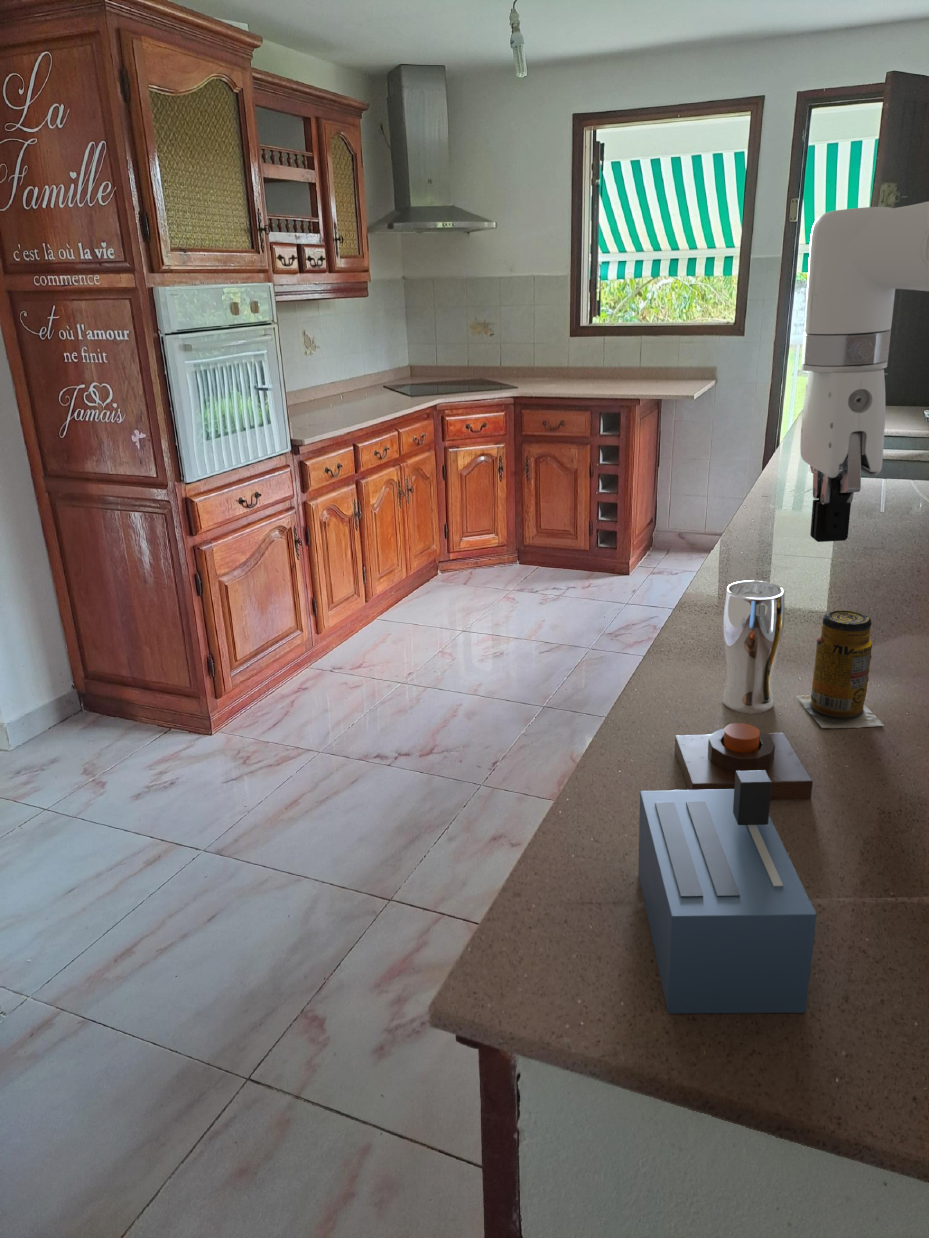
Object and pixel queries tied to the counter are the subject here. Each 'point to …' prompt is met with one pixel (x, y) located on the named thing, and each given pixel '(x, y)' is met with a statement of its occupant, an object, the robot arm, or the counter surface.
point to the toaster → (722, 907)
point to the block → (742, 764)
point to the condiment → (841, 672)
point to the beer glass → (752, 643)
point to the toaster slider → (752, 797)
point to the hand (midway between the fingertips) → (828, 538)
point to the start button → (741, 737)
